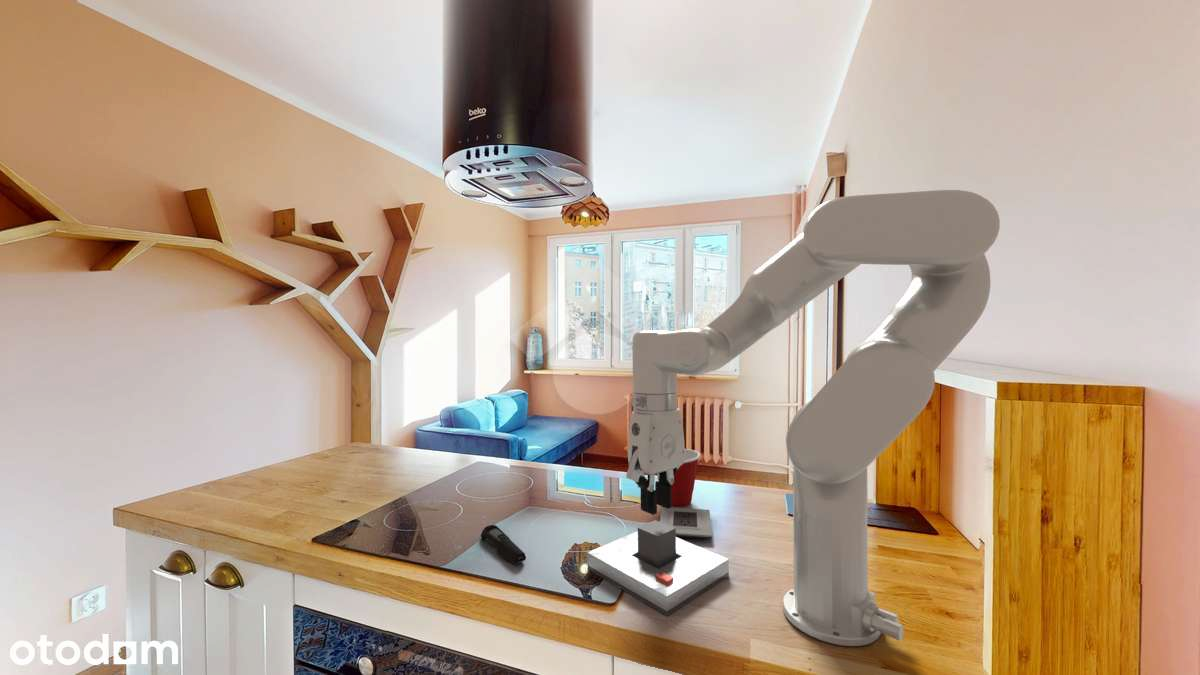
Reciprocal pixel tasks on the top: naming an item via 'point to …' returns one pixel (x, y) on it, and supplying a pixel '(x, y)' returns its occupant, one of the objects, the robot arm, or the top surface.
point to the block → (657, 543)
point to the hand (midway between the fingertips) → (656, 508)
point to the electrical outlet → (688, 522)
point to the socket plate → (659, 572)
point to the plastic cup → (685, 480)
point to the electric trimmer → (503, 544)
